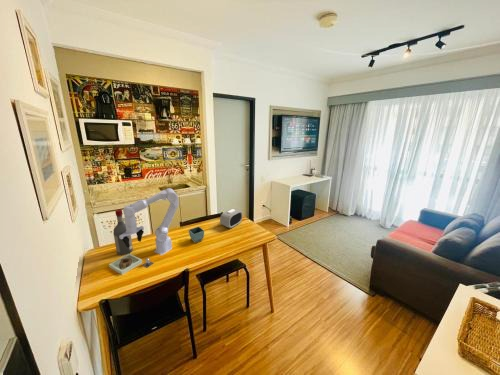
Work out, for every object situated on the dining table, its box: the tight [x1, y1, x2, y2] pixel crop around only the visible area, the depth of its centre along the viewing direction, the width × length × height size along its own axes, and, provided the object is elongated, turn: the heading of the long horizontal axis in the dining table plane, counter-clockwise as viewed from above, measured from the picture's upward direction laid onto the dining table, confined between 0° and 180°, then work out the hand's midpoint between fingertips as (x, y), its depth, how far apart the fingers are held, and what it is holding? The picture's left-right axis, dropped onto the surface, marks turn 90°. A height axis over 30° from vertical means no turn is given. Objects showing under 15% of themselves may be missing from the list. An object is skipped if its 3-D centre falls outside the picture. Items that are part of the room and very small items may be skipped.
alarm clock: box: [219, 208, 244, 229], centre depth 179 cm, size 21×10×13 cm, turn 147°
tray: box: [108, 253, 143, 276], centre depth 124 cm, size 13×13×3 cm
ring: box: [119, 258, 132, 269], centre depth 123 cm, size 6×6×3 cm
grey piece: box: [141, 257, 155, 269], centre depth 125 cm, size 5×5×4 cm
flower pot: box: [188, 226, 205, 244], centre depth 152 cm, size 9×9×9 cm
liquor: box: [112, 209, 134, 257], centre depth 134 cm, size 9×9×30 cm
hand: (133, 244), depth 129 cm, fingers open, 7 cm apart
